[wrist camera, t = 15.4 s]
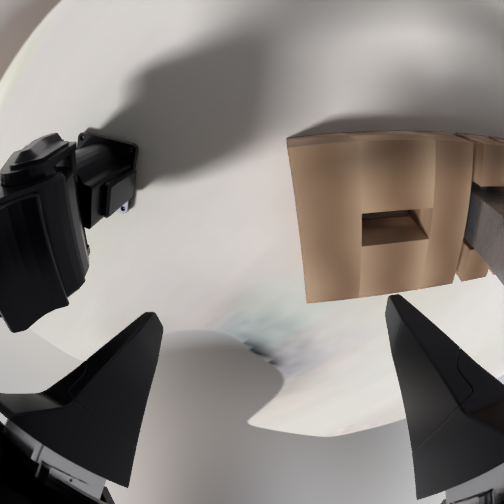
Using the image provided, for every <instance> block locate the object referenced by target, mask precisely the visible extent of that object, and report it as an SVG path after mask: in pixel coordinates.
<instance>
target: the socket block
mask: <svg viewBox="0 0 504 504" xmlns="http://www.w3.org/2000/svg"><path fill="white" fill-rule="evenodd" d="M287 149H288V155H289V162H290V168H291V175H292V181H293V188H294V195H295V202H296V210H297V218H298V225H299V234H300V242H301V251H302V260H303V270H304V280H305V290H306V301H307V303H317V302H327V301H336V300H345V299H353V298H361V297H369V296H377V295H384V294H391V293H398V292H404V291H411V290H417V289H423V288H429V287H435V286H440V285H446V284H451V283H453V279H454V275H455V272H456V274H457V275H458V277H459V278H460V280H461V281H467V280H471V279H476V278H481V277H486V275H487V272H488V269H489V270H490V271H491V272H492V273H493V275H495V273H494V272H493V271H492V269H491V268H490V267H489V266H488V264H487V263H486V262H485V261H484V260H483V258H482V257H481V256H480V255H479V254H478V253H477V251H476V250H475V249H474V248H473V247H472V246H471V245H470V243H469V242H468V241H467V240H466V239H465V238H464V232H465V227H466V221H467V215H468V208H469V200H470V192H471V181H474V182H475V183H477V184H478V185H480V186H495V187H496V188H498V189H499V190H501V191H502V192H504V139H502V138H495V137H490V139H489V138H486V137H484V136H480V135H471V134H461V133H456V136H455V135H452V134H449V133H446V132H429V131H366V132H347V133H332V134H321V135H310V136H301V137H293V138H287ZM398 210H410V216H402V217H390V218H379V219H369V220H362V214H363V213H374V212H386V211H398Z"/></svg>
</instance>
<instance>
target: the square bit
mask: <svg viewBox="0 0 504 504" xmlns="http://www.w3.org/2000/svg"><path fill="white" fill-rule="evenodd" d="M464 238H465V239H466V240H467V241H468V242H469V243H470V245H471V246H472V247H473V248H474V249H475V250H476V251H477V253H478V254H479V255H480V256H481V257H482V258H483V260H484V261H485V262H486V263H487V264H488V266H489V267H490V268H491V269H492V271H493V272H494V273H495V274H496V276H497V277H498V278H499V280H500V281H501V282H502V283H503V285H504V192H502V191H501V190H499V189H498V188H496V187H495V186H480V185H478V184H477V183H475V182H474V181H471V192H470V200H469V208H468V215H467V221H466V227H465V232H464Z"/></svg>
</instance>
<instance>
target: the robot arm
mask: <svg viewBox="0 0 504 504" xmlns="http://www.w3.org/2000/svg"><path fill="white" fill-rule="evenodd" d="M83 136H84V139H83ZM131 148H133V152H131ZM137 154H138V147H137V145H136V144H133V143H129V142H125V141H121V140H117V139H113V138H109V137H105V136H101V135H96V134H92V133H87V132H83V133H80V134H79V136H78V144H77V145H76V142H68V141H64V140H62V139H61V137H60V136H59V135H58V133H52V134H49V135H46V136H43V137H41V138H38V139H36V140H34V141H32V142H31V143H30V144H29V145H27V146H25V147H24V148H23V149H22V150H19V151H16V152H14V153H13V154H12V155H11V156H10V158H9V159H8V160H7V162H6V163H5V165H4V166H3V167H2V169H1V170H0V317H2V318H3V319H4V321H5V323H6V324H7V326H8V328H9V329H10V331H11V332H13V333H16V332H20V331H24V330H26V329H28V328H29V327H30V326H31V325H32V324H34V323H35V322H36V321H37V320H38V319H40V318H41V317H42V316H44V315H45V314H47V313H49V312H51V311H53V310H55V309H58V308H62V307H65V306H68V305H69V301H68V297H69V296H70V295H72V294H73V293H74V292H76V291H77V290H78V289H79V288H80V287H81V286H82V285H83V283H84V282H85V275H86V273H87V270H88V268H89V257H88V256H89V253H90V248H89V245H88V244H87V239H86V234H85V229H84V227H85V228H87V229H90V228H91V227H93V226H94V225H95V224H96V223H97V222H98V221H99V220H101V219H102V218H103V217H106V218H108V217H109V216H110V215H112V214H113V213H114V212H115V211H117V212H120V213H123V214H125V213H126V212H128V211H129V208H130V200H131V198H132V197H133V191H134V184H135V177H136V170H135V166H136V160H137ZM123 206H124V207H125V209H123ZM385 317H386V323H387V328H388V334H389V340H390V347H391V353H392V357H393V361H394V365H395V369H396V373H397V377H398V381H399V385H400V389H401V394H402V398H403V403H404V408H405V413H406V418H407V423H408V429H409V435H410V441H411V448H412V451H413V452H412V456H413V464H414V473H415V483H416V496H417V500H418V499H422V498H425V497H428V496H431V495H434V494H437V493H440V492H442V491H446V499H445V500H443V502H442V503H441V504H504V385H503V384H502V383H501V382H500V381H499V380H497V379H496V378H495V377H494V376H492V375H491V374H490V373H489V372H487V371H486V370H485V369H484V368H482V367H481V366H480V365H479V364H477V363H476V362H475V361H474V360H473V359H472V358H471V357H470V356H469V355H467V354H466V353H465V352H464V351H463V350H462V349H461V348H460V347H459V346H458V345H457V344H456V343H454V342H453V341H452V340H451V339H450V338H449V337H448V336H447V335H446V334H445V333H444V332H442V331H441V330H440V329H439V328H438V327H437V326H436V325H435V324H433V323H432V322H431V321H430V320H429V319H428V318H427V317H425V316H424V315H423V314H422V313H421V312H420V311H419V310H417V309H416V308H415V307H414V306H413V305H412V304H410V303H409V302H408V301H407V300H406V299H404V298H403V297H402V296H401V295H399V294H397V295H390V296H389V297H388V301H387V306H386V312H385ZM162 335H163V326H162V324H161V322H160V320H159V318H158V317H157V315H156V313H154V312H145V313H144V314H142V315H141V316H140V317H139V318H137V319H136V320H135V321H134V322H132V323H131V324H130V325H129V326H127V327H126V328H125V329H124V330H122V331H121V332H120V333H119V334H118V335H116V336H115V337H114V338H113V339H111V340H110V341H109V342H108V343H106V344H105V345H104V346H103V347H102V348H100V349H99V350H98V351H97V352H96V353H94V354H93V355H92V356H91V357H89V358H88V359H87V360H86V361H85V362H83V363H82V364H81V365H80V366H79V367H77V368H76V369H75V370H74V371H72V372H71V373H69V374H68V375H67V376H65V377H64V378H63V379H61V380H60V381H58V382H57V383H56V384H54V385H53V386H52V387H50V388H49V389H47V390H45V391H43V392H41V393H36V394H3V393H0V412H1V413H2V414H3V415H4V416H5V417H6V418H8V419H7V422H6V424H5V425H4V424H3V423H2V422H1V421H0V504H115V503H114V501H113V499H112V497H111V495H110V493H109V491H108V489H107V487H105V486H104V485H105V482H106V479H107V480H109V481H112V482H114V483H117V484H119V485H121V486H124V487H127V488H128V486H129V482H130V476H131V471H132V466H133V460H134V456H135V451H136V446H137V442H138V437H139V432H140V428H141V424H142V420H143V415H144V411H145V407H146V403H147V399H148V396H149V392H150V388H151V384H152V380H153V377H154V373H155V370H156V366H157V362H158V357H159V351H160V345H161V340H162Z"/></svg>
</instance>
